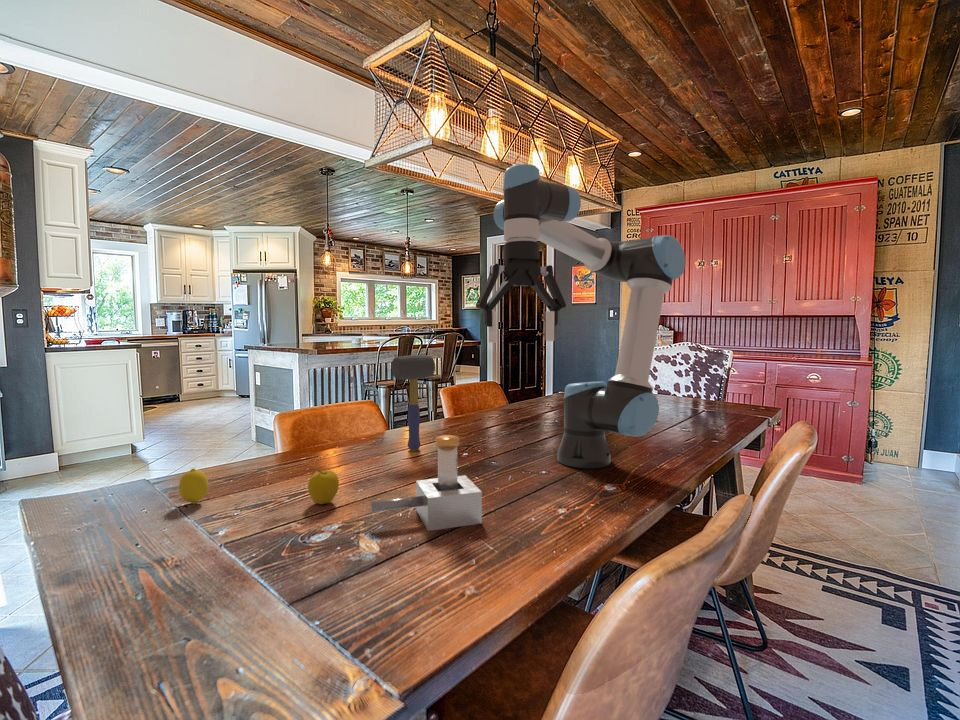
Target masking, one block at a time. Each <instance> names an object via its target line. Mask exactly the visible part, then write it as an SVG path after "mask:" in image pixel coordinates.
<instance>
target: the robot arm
mask: <svg viewBox="0 0 960 720" xmlns="http://www.w3.org/2000/svg"><path fill="white" fill-rule="evenodd" d="M502 191H503V199H502V200H501V201H499V202H497V203H496V205H495V206H494V208H493V221H494V223H495V225H496V226H497V228H499V229H500V230H502V231H503V240H504V241H505V244H504V245H503V260H504V263H503V265H500V264H499V263H494V264H491V265H490V267H489V275H488V276H487V279H486V281H485V284H484V285H483V288H482V290H481V292H480V294H479V297H478V299H477V300H476V303H475V308H477V309H478V310H482V311H483V312H484V326H485V328H487V327H488V343H491V344H493V343H494V344H495V343H497V342H498V341H497V334H498V333H497V311H494V309H495V307H496V306H497V304H499V302H500V301H501V300H502V298H503V297H504V296H505V294H506V293H507V292H508V291H509V290H510V288H511V287H512V286H513V287H520V286H521V287H530V288H531V289H532V290H534V293H536V294H537V296H538V297H539V298H540V300H541V301H542V302H543V304H544V305H545V306H546V307H547V309H548V310H547V311H545V341H547V342H555V326H556V327H557V326H558V322H559V321H558V319H559V318H558V317H559V316H558V314H559V313H558V312H559V311H560V310H561V309H565V308H566V305H567V304H566V301H565V299H564V296H563V294H562V292H561V290H560V286H559V285H558V283H557V281H556V278H555V276H554V268H553V266H552V265H550V264H549V265H545V266H540V243H539V242H541V243H543V244H545V245H547V246H549V247H551V248H553V249H555V250H557V251H559V252H560V253H563V254H565V255H567V256H569V257H571V258H572V259H575V260H577V261H578V262H581V263H583V265H584V267H585V268H586V270H589V271H591V272H592V273H595V274H597V275H599V276H602V277H605V278H607V279H609V280H612V281H616V282H621V283H626V285H627V286H628V288H629V289H630V294H629V297H628V298H629V299H628V303H627V304H628V305H627V309H626V314H625V315H626V316H625V319H624V325H623V331H622V337H621V340H620V347H619V352H618V357H617V362H616V369H615V373H614V375H613V376H612V377H610V378H608V379H607V380H608V381H607V383H606V381H601V380H600V381H587V382H574V383H568V384H567V385H566V386H565V387H564V396H563V435H562V438H561V441H560V443H559V447H558V450H557V453H556V454H557V455H556V456H557V459H556V460H557V462H558V463H560V464H562V465H564V466H567V467H570V468H571V467H572V468H578V469H601V468H605V467H608V466H610V465H611V463H612V460H611V459H612V457H611V456H612V455H611V452H610V449H609V446H608V442H607V438H606V431H607V432H611V433H614V434H619V435H622V436H627V437H629V436H630V437H635V438H637V437H643V436H645V435H647V434H648V433H649V431H651V430H652V429H653V428H654V426H655V424H656V422H657V419H658V416H659V413H660V412H659V411H660V405H659V399H658V398H657V397H656V396H655V394H653V392H654V391H653V390H654V388H653V386H652V384H651V383H650V382H649V379H650V373H651V368H652V363H653V356H654V351H655V345H656V340H657V336H658V335H657V334H658V329H659V323H660V320H661V319H660V318H661V313H662V308H663V302H664V296H665V294H666V293H668V292H669V291H671V290H672V285H673V281H674V280H677V279H679V278H681V277H682V275H683V274H684V272H685V268H686V257H685V256H686V255H685V252H684V250H683V247H682V245H681V243H680V241H679V240H678V239H677V238H676V237H675V236H672V235H670V234H669V235H668V234H663V235H654V236H649V237H645V238H638V239H631V240H623V241H612V240H608V239H607V238H604V237H599V238H597V237H596V236H594V235H591V234H590V233H588V232H587V231H584V230H583V229H581V228H579V227H577V226H575V225H573V224H572V223H570V221H572V220H573V219H575V218H576V217H577V216H578V214H579V212H580V211H581V207H582V206H581V205H582V204H581V203H582V199H581V196H580V192H578V190H577V189H575V188H573V187H569V186H567V185H566V184H563V185H562V184H558V183H554V182H549V181H545V180H542V179H541V176H540V170H539V168H538V167H537V166H536V165H534V164H530V163H529V164H528V163H523V164H522V163H520V164H519V163H518V164H514V165H511V166H509V167H508V168H506V170H505V171H504V174H503V188H502ZM538 241H539V242H538ZM501 274H503V275H504V276H505V279H504V280H503V281H502V283H501V284H500V286H499V287H498V288H497V290H495V292H494V294H492V296H491V298H490V295H491V293H492V291H493V289H494V287H495V285H496V283H497V280H498V277H499V276H500V275H501ZM540 274H541V276H542V277H543V279H544V283H545V284H546V286H547V288H545V287H544V285H543V282H542V281H541V280H540V278H539V275H540ZM546 289H548V291H549V292H548V291H547V290H546ZM489 298H490V299H489Z"/></svg>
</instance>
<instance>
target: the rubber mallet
mask: <svg viewBox="0 0 960 720" xmlns="http://www.w3.org/2000/svg"><path fill="white" fill-rule="evenodd" d="M435 370H436V363H435V360H434V358H433V357H432V356H431V355H428V354H427V355H425V354H424V355H423V354H411V355H410V354H408V355H403V356H395V357H394V358H393V359H392V362H391V373H392V376H393V377H394V378H395V380H409V404H408V410H407V424H408V441H407V448H408V449H409V451H413V452H415V451H416V452H417V451H419V450H420V447H421V440H420V424H421V423H420V422H421V416H420V415H421V413H420V406H419V394H418V393H419V389H418V388H419V385H418V383H419V382H418V381H419V380H418V379H424V378H430V377H432V376H433V375H434V374H435Z"/></svg>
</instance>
